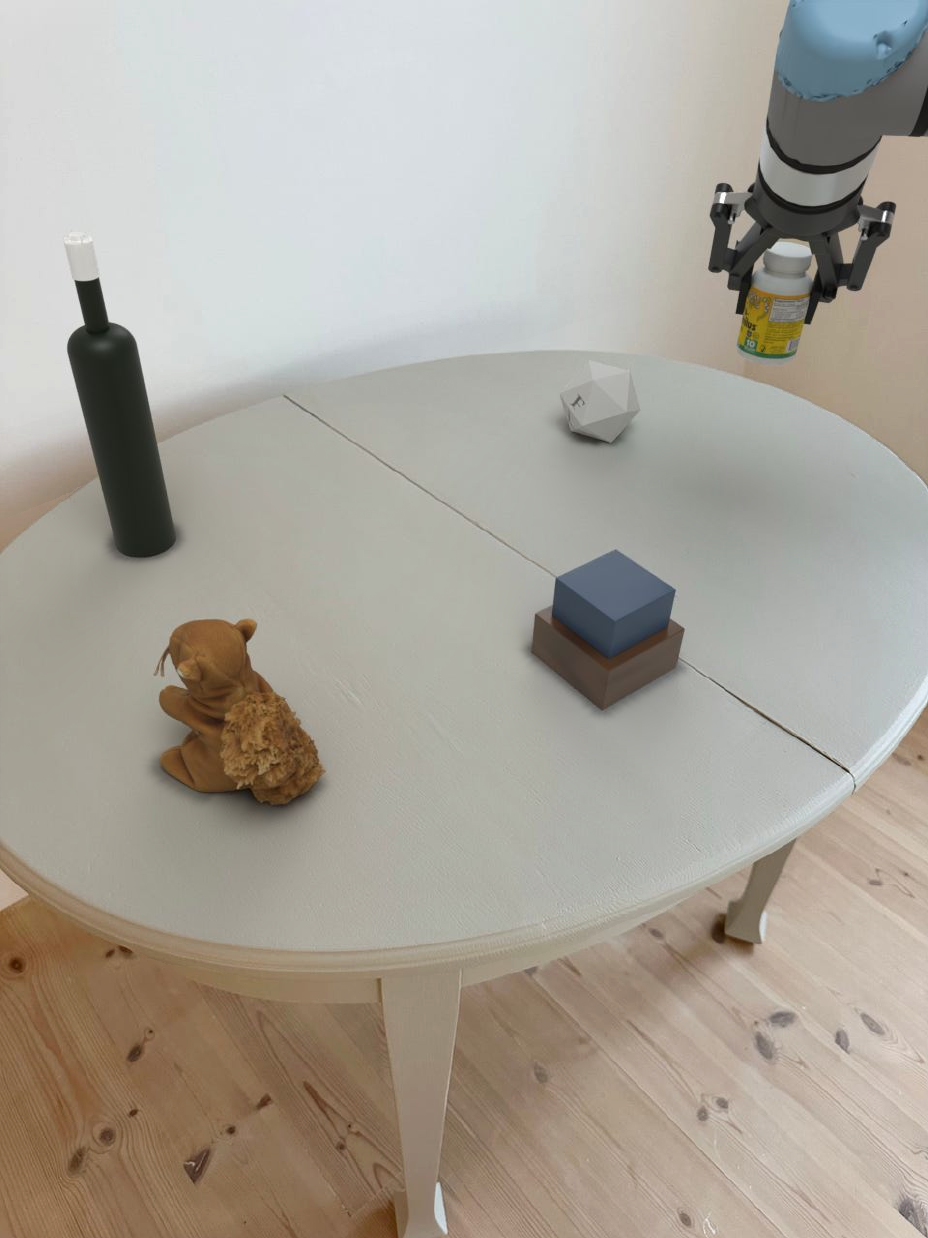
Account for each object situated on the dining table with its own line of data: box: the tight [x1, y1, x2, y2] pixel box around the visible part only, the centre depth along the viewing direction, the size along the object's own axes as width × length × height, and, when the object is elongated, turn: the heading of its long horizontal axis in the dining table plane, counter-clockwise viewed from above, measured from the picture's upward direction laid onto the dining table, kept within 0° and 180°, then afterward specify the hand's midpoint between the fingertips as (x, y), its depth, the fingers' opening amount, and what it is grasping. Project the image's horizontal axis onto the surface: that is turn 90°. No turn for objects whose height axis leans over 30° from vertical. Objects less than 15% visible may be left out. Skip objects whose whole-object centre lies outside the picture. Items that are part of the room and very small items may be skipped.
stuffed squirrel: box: [153, 618, 327, 806], centre depth 69 cm, size 10×14×13 cm
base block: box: [531, 604, 686, 711], centre depth 82 cm, size 9×9×4 cm
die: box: [558, 359, 641, 444], centre depth 113 cm, size 8×9×10 cm
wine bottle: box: [63, 230, 177, 559], centre depth 86 cm, size 6×6×30 cm
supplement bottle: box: [736, 241, 814, 367], centre depth 85 cm, size 5×5×10 cm
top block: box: [552, 549, 677, 659], centre depth 80 cm, size 7×7×4 cm
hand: (775, 305), depth 89 cm, fingers closed on supplement bottle, 5 cm apart
